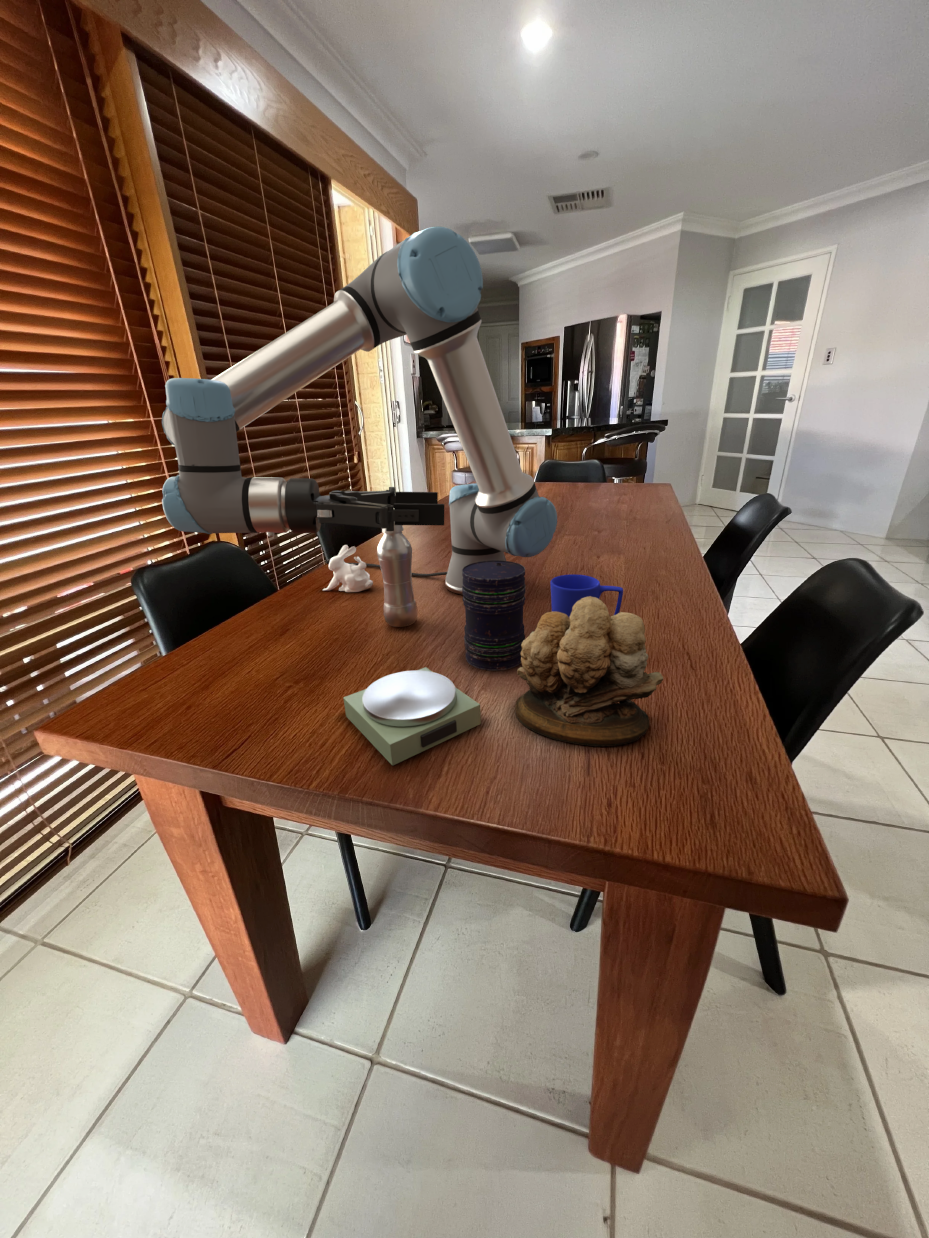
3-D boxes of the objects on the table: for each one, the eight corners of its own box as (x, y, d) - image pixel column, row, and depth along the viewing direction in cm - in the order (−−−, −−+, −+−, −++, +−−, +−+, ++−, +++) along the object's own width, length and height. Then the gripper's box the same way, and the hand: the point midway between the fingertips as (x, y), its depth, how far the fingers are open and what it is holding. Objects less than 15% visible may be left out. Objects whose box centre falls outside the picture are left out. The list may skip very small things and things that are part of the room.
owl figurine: (655, 703, 67) (670, 584, 60) (657, 758, 57) (677, 621, 50) (523, 686, 72) (524, 575, 66) (504, 734, 62) (503, 607, 55)
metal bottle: (424, 619, 97) (416, 517, 89) (409, 633, 91) (400, 525, 84) (394, 616, 99) (384, 516, 91) (378, 629, 93) (366, 524, 86)
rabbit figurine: (321, 591, 115) (314, 550, 111) (338, 580, 122) (332, 542, 118) (367, 594, 112) (362, 553, 108) (382, 583, 118) (377, 544, 114)
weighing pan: (347, 696, 66) (346, 689, 65) (424, 668, 72) (424, 661, 72) (391, 739, 57) (390, 732, 56) (474, 702, 63) (474, 695, 63)
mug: (620, 647, 83) (626, 591, 79) (547, 643, 85) (549, 588, 81) (617, 627, 90) (621, 575, 86) (549, 624, 92) (551, 573, 89)
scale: (345, 716, 67) (342, 697, 66) (427, 684, 74) (425, 666, 73) (393, 767, 57) (391, 746, 56) (482, 725, 64) (482, 705, 63)
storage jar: (516, 674, 76) (516, 581, 70) (456, 666, 79) (451, 576, 73) (531, 647, 84) (532, 562, 78) (476, 640, 87) (473, 558, 82)
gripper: (307, 518, 82) (435, 519, 85) (269, 552, 59) (447, 552, 61) (303, 471, 79) (435, 473, 82) (262, 487, 56) (448, 490, 59)
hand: (440, 507), depth 72 cm, fingers open, 13 cm apart
